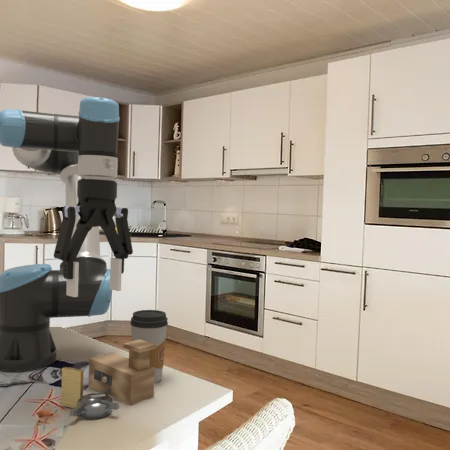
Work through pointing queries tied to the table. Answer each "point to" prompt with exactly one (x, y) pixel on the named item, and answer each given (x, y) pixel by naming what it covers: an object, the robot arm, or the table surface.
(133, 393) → the wooden drawer box
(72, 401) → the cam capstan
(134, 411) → the table surface
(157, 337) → the coffee cup
